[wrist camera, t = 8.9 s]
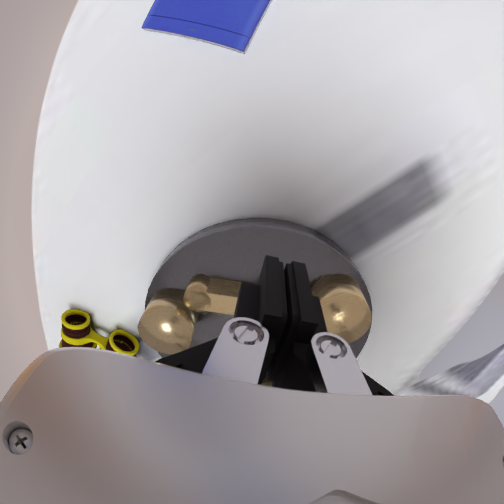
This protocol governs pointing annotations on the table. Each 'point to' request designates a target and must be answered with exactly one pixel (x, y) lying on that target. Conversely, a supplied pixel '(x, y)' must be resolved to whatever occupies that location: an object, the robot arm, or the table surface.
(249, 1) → the hard drive
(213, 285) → the tan knobbed bar
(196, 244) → the base
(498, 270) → the table surface
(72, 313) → the opera glasses
